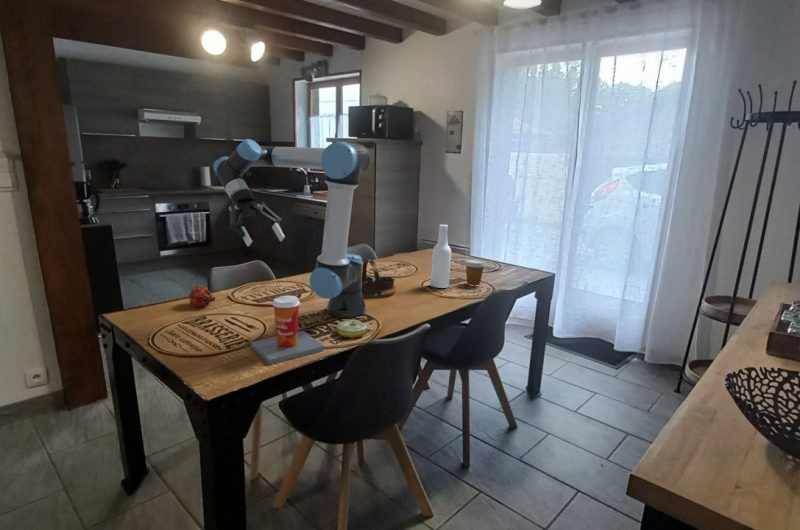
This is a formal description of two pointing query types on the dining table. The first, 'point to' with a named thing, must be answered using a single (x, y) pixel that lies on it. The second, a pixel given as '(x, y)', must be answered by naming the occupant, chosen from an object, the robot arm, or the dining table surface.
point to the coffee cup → (286, 320)
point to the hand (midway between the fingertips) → (266, 241)
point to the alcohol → (441, 260)
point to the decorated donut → (351, 328)
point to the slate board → (278, 354)
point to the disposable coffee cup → (474, 271)
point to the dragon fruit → (200, 297)
